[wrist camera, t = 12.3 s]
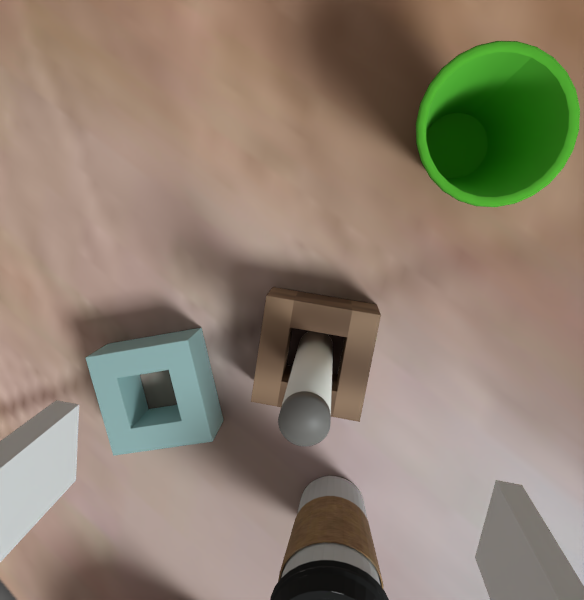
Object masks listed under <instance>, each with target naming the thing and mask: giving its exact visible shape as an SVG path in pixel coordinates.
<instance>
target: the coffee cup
mask: <svg viewBox="0 0 584 600" xmlns="http://www.w3.org/2000/svg"><path fill="white" fill-rule="evenodd" d="M271 600H389V599H388V597H387V595H386V593H385V591H384V590H383V582H382V578H381V573H380V569H379V565H378V561H377V557H376V553H375V548H374V544H373V540H372V536H371V532H370V528H369V523H368V520H367V515H366V510H365V506H364V501H363V497H362V495H361V493H360V491H359V490H358V488H357V487H356V486H355V485H354V484H353V483H351V482H350V481H348V480H346V479H344V478H341V477H337V476H325V477H321V478H318V479H316V480H314V481H312V482H311V483H310V484H309V485H308V486H307V487H306V488H305V490H304V492H303V494H302V497H301V500H300V504H299V508H298V512H297V516H296V519H295V522H294V525H293V529H292V532H291V536H290V539H289V543H288V546H287V550H286V553H285V557H284V560H283V563H282V567H281V570H280V575H279V580H278V583H277V584H276V586H275V588H274V590H273V593H272V595H271Z"/></svg>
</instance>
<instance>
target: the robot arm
mask: <svg viewBox="0 0 584 600" xmlns="http://www.w3.org/2000/svg"><path fill="white" fill-rule="evenodd" d="M78 418H79V404H74V403H68V402H63V401H57V400H56V401H55V402H53V403H52V404H50V405H49V406H48V407H46V408H45V409H44V410H42V411H41V412H40V413H38V414H37V415H35V416H34V417H33V418H31V419H30V420H29V421H27V422H26V423H25V424H23V425H22V426H20V427H19V428H18V429H16V430H15V431H14V432H12V433H11V434H9V435H8V436H7V437H5V438H4V439H3V440H1V441H0V562H1V561H2V560H3V559H4V558H5V557H6V556H7V554H8V553H9V552H10V551H11V550H12V549H13V548H14V547H15V546H16V545H17V544H18V543H19V541H20V540H21V539H22V538H23V537H24V536H25V535H26V534H27V533H28V532H29V531H30V530H31V528H32V527H33V526H34V525H35V524H36V523H37V522H38V521H39V520H40V519H41V518H42V516H43V515H44V514H45V513H46V512H47V511H48V510H49V509H50V508H51V507H52V506H53V505H54V503H55V502H56V501H57V500H58V499H59V498H60V497H61V496H62V495H63V494H64V493H65V492H66V490H67V489H68V488H69V487H70V486H71V485H72V484H73V483H74V482H75V481H76V465H77V442H78ZM475 558H476V561H477V564H478V567H479V569H480V572H481V575H482V578H483V580H484V583H485V586H486V589H487V591H488V594H489V597H490V600H584V586H583V584H582V583H581V581H580V579H579V578H578V576H577V575H576V573H575V571H574V570H573V568H572V566H571V565H570V563H569V561H568V560H567V558H566V557H565V555H564V553H563V552H562V550H561V548H560V547H559V545H558V543H557V542H556V540H555V539H554V537H553V535H552V534H551V532H550V530H549V529H548V527H547V525H546V524H545V522H544V521H543V519H542V517H541V516H540V514H539V512H538V511H537V509H536V507H535V506H534V504H533V502H532V501H531V499H530V498H529V496H528V494H527V493H526V491H525V489H524V488H523V486H522V485H519V484H514V483H508V482H503V481H497V480H496V482H495V486H494V489H493V493H492V497H491V500H490V504H489V508H488V511H487V515H486V519H485V523H484V526H483V530H482V534H481V537H480V541H479V545H478V548H477V552H476V556H475Z"/></svg>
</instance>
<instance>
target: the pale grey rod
mask: <svg viewBox="0 0 584 600" xmlns="http://www.w3.org/2000/svg"><path fill="white" fill-rule="evenodd" d="M332 363H333V342H332V340H331V338H330V336H329V335H328V334H325V333H319V332H314V331H308V332H306V333H305V334H304V335H303V336H302V337H301V339H300V342H299V345H298V349H297V352H296V356H295V360H294V363H293V367H292V370H291V374H290V378H289V381H288V385H287V389H286V392H285V396H284V399H283V403H282V407H281V410H280V414H279V418H278V424H279V428H280V431H281V433H282V435H283V436H284V437H285V438H286V439H287V440H288V441H289V442H291V443H293V444H295V445H298V446H312V445H315V444H317V443H319V442H321V441H322V440H323V439H324V438H325V437H326V436H327V434H328V432H329V429H330V417H331V390H332Z"/></svg>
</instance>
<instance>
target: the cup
mask: <svg viewBox="0 0 584 600" xmlns="http://www.w3.org/2000/svg"><path fill="white" fill-rule="evenodd" d="M579 117H580V108H579V103H578V98H577V94H576V89H575V87H574V85H573V83H572V81H571V79H570V77H569V75H568V73H567V72H566V71H565V70H564V68H563V67H562V66H561V65H560V64H559V63H558V62H557V61H556V60H555V59H554V57H552V56H550V55H549V54H547V53H545V52H544V51H542V50H541V49H539V48H537V47H535V46H531V45H528V44H525V43H521V42H518V41H495V42H491V43H486V44H482V45H478V46H475V47H473V48H471V49H469V50H467V51H465V52H463V53H461V54H459V55H458V56H456V57H455V58H454V59H453V60H452V61H450V62H449V63H448V64H447V65H445V66H444V67H443V68H442V69H441V70H440V72H439V73H438V74H437V75H436V77H435V78H434V79H433V81H432V82H431V83H430V84H429V86H428V88H427V90H426V93H425V95H424V97H423V99H422V101H421V103H420V107H419V112H418V116H417V121H416V144H417V148H418V151H419V155H420V159H421V162H422V164H423V166H424V167H425V169H426V171H427V173H428V175H429V176H430V178H431V179H432V180H433V181H434V182H435V183H436V184H437V185H438V186H439V187H440V188H441V190H442V191H444V192H445V193H447V194H449V195H450V196H452V197H453V198H455V199H457V200H458V201H461V202H465V203H468V204H471V205H474V206H483V207H499V206H504V205H509V204H515V203H517V202H519V201H522V200H524V199H526V198H529V197H531V196H533V195H534V194H536V193H537V192H539V191H540V190H541V189H543V188H544V187H545V186H547V185H548V184H550V182H551V181H552V180H553V179H554V178H555V177H556V176H557V174H558V173H559V172H560V171H561V170H562V169H563V167H564V166H565V164H566V162H567V160H568V158H569V157H570V155H571V153H572V151H573V149H574V145H575V142H576V138H577V135H578V131H579Z"/></svg>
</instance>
